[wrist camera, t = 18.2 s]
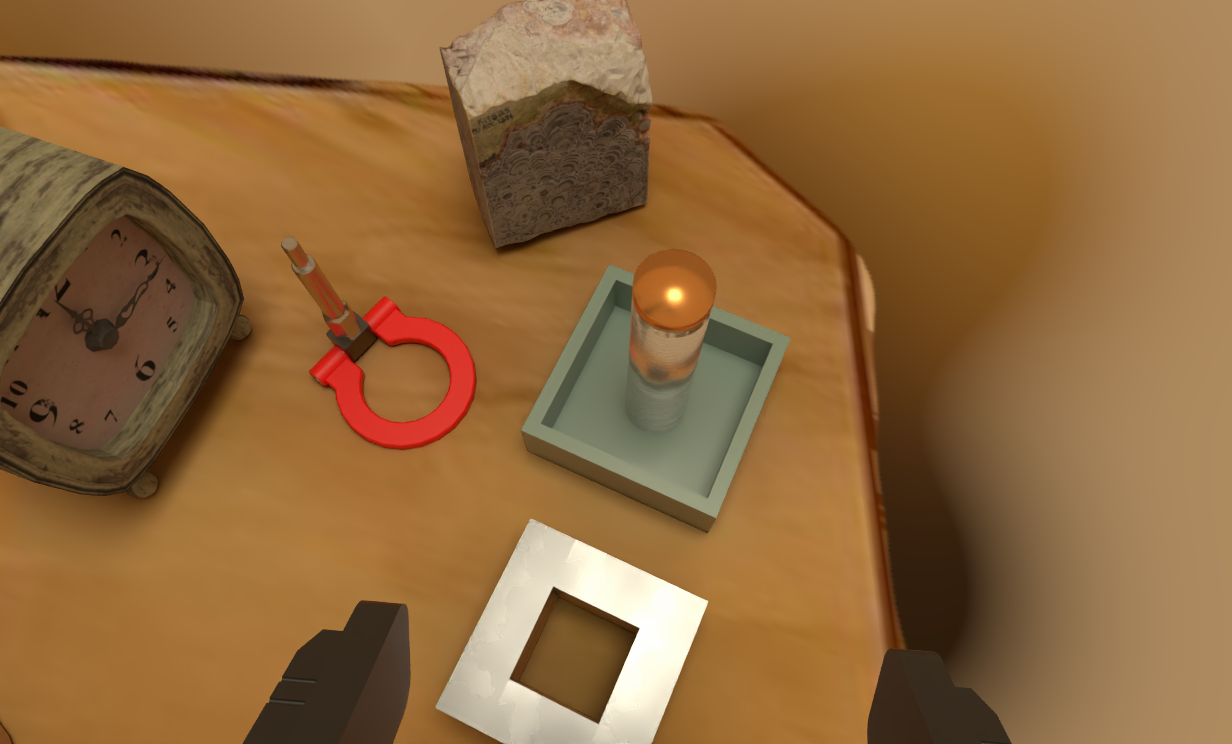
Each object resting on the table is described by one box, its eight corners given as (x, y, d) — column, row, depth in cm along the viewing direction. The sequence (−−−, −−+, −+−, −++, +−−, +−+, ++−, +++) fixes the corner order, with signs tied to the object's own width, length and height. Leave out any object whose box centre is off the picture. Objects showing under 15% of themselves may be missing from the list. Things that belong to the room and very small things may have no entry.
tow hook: (505, 376, 50) (396, 292, 51) (481, 282, 37) (340, 176, 39) (412, 479, 47) (301, 387, 49) (354, 414, 35) (209, 295, 37)
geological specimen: (499, 262, 52) (460, 104, 38) (470, 190, 54) (423, 16, 40) (648, 211, 54) (662, 42, 40) (614, 143, 56) (617, -39, 42)
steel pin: (671, 442, 47) (697, 335, 33) (616, 418, 47) (619, 303, 33) (694, 391, 48) (729, 267, 34) (640, 368, 49) (653, 237, 35)
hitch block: (624, 795, 40) (626, 806, 36) (452, 706, 42) (435, 707, 38) (698, 610, 44) (708, 601, 40) (537, 534, 45) (530, 518, 41)
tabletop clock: (159, 529, 45) (-311, 352, 22) (25, 476, 46) (-557, 256, 23) (283, 316, 50) (7, -6, 27) (160, 274, 52) (-204, -71, 28)
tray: (707, 532, 45) (716, 518, 42) (527, 451, 47) (520, 430, 43) (777, 364, 49) (790, 337, 46) (609, 295, 51) (609, 264, 48)
